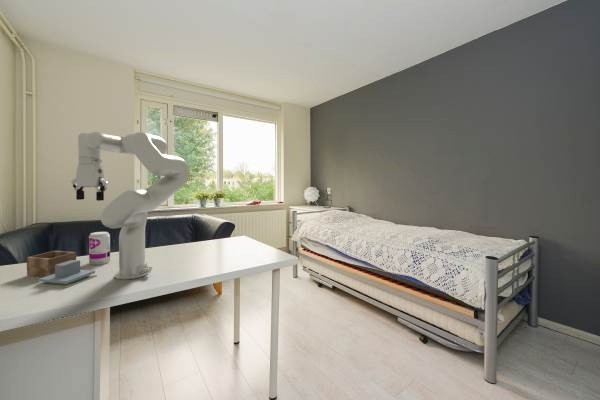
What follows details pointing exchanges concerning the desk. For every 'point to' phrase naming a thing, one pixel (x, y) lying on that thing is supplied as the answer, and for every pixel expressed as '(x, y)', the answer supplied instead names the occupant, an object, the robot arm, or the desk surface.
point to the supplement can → (99, 248)
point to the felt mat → (65, 284)
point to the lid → (67, 273)
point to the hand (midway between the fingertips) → (90, 199)
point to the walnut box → (47, 262)
